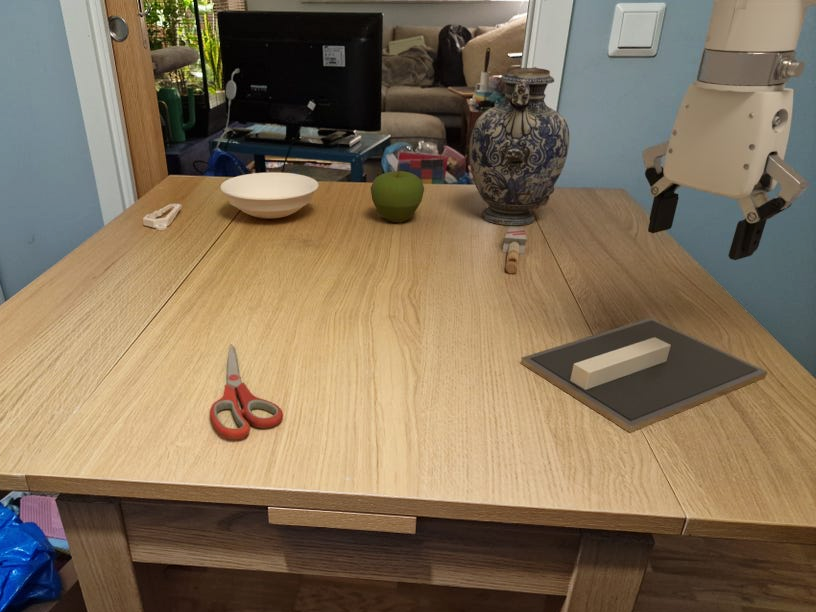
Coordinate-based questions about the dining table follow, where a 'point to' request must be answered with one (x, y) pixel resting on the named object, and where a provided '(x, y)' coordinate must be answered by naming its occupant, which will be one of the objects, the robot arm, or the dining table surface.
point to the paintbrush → (514, 247)
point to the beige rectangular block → (619, 363)
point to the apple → (397, 195)
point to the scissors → (246, 401)
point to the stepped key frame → (162, 222)
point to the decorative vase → (518, 149)
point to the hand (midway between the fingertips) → (697, 243)
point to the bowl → (269, 193)
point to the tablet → (647, 374)
